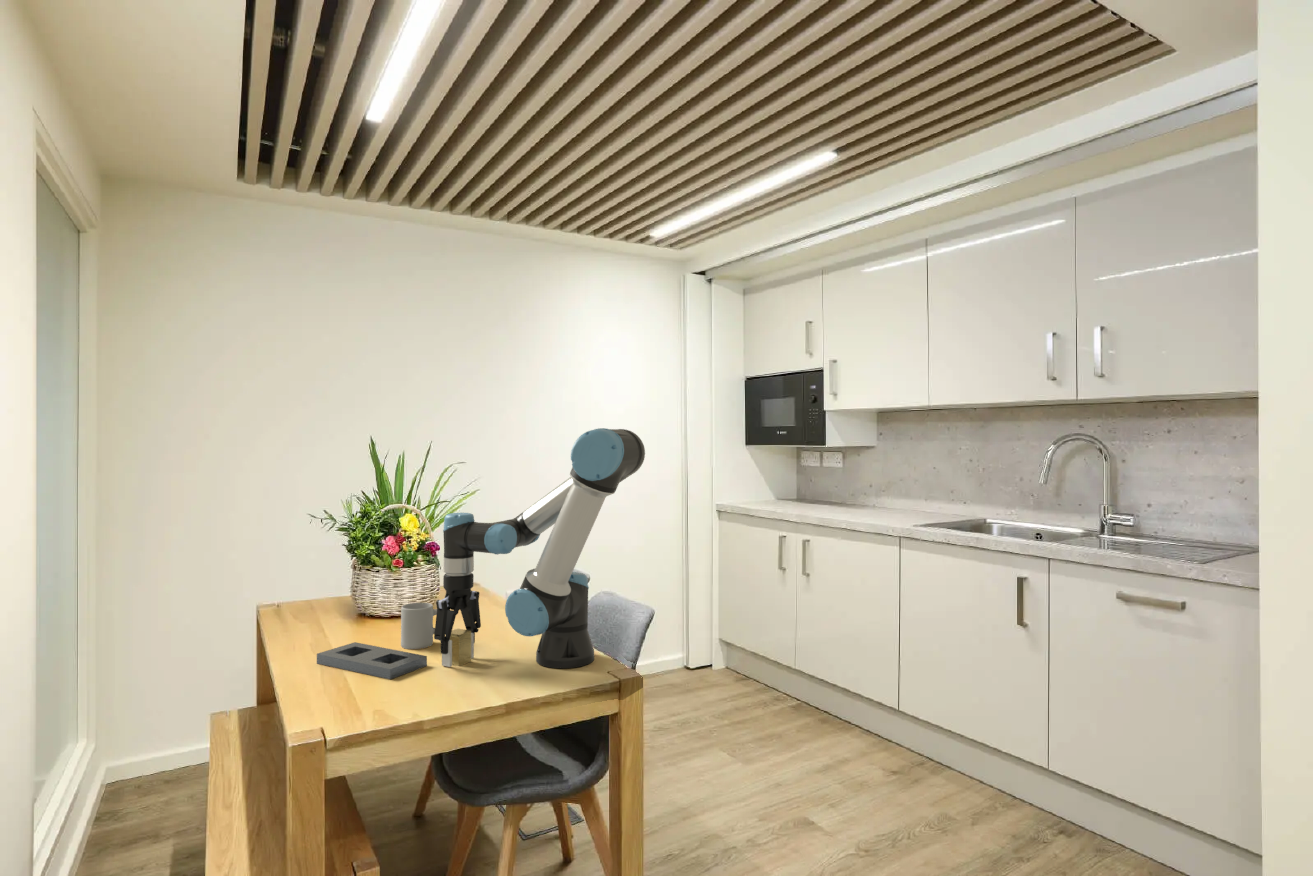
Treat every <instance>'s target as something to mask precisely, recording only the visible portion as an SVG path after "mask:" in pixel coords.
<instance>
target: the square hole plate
mask: <svg viewBox="0 0 1313 876" xmlns="http://www.w3.org/2000/svg"><path fill="white" fill-rule="evenodd" d="M316 664H317V665H322V666H327V667H331V668H335V669H340V670H344V671H349V672H353V673H354V672H355V673H359V674H364V675H368V676H372V677H377V678H381V679H387V680H392V679H393V680H394V679H395V678H398V677H400V676H403V675H406V674H408V673H409V674H410V673H412V672H414V671H418V670H419V668H420V669H422V668H425V667H427V666H428V656H427V655H425V654H424V655H423V654H418V653H412V652H407V651H403V650H397V649H392V648H388V647H387V648H386V647H383V646H381V647H380V646H376V645H371V644H366V643H360V642H351V643H348V644H345V645H341V646H338V647H334V648H332V649H331V648H330V649H328V650H324V651H321V652H319V653H316Z"/></svg>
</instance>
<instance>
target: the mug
mask: <svg viewBox="0 0 1313 876" xmlns="http://www.w3.org/2000/svg"><path fill="white" fill-rule="evenodd" d="M400 613H401V614H400V624H401V625H400V646H401V648H403V649H405V650H422V649H426V648H429V647H431V646H433V643H434V633H435V627H434V624H433V622H434V617H435V616H436V615H437V608H434V606H433V604H432V603H430V602H410V603H406V604H403V605H402V606H401V608H400ZM428 646H429V647H428ZM421 648H422V649H421Z"/></svg>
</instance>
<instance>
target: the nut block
mask: <svg viewBox="0 0 1313 876" xmlns="http://www.w3.org/2000/svg"><path fill="white" fill-rule="evenodd" d="M450 640H452V666H455V667H456V666H457V667H460V666H463V665H466V664H468V663H471V662H472V658H471V631H469V630H466V629H461V628H455V629H452V632H451V636H450Z"/></svg>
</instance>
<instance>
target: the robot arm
mask: <svg viewBox="0 0 1313 876" xmlns="http://www.w3.org/2000/svg"><path fill="white" fill-rule="evenodd" d="M645 455H646V449H645V445H644V443H643V440H642V439H641V438H640V437H639V435H637V434H636V433H635V432H634V431H631V430H629V429H624V428H617V429H616V428H615V429H614V428H613V429H612V428H599V427H598V428H594V429H591V430H590V429H589V430H588V431H585V432H584V433H582V434H580V436H578V437H577V439H576V440H575V441H574V443H573V445H572V447H571V451H570V460H571V465H572V467H571V470H570V472H569V475H570V477H569V478H567V479H566V480H564V481H563V482H562V483H561V484H559V485H557V486H556V487H554V489H552V490H551V491H550V492H548V493H547V494H545V495H544V496H543V497H541V498H540V499H539V500H537V501H536V502H534V503H533V504H532V505H530V506H529V507H528V508H526V509H524V511H522V512H521V513H520V514H518V515H517V516H516V517H513V518H512V519H506V520H501V521H496V522H477V521H475V515H474V514H473V513H472V512H471V513H469V512H452V513H451V512H450V513H447V514H446V515H445V516H444V518H443V519H444V521H443V529H442V533H443V573H445V574H444V575H443V576H442V577H443V579H442V580H443V586H442V587H443V589H444V590H445V595H444V598H442V599H437V600H436V601H435V604H436V609H437V615H435V616H436V617H435V624H434V625H435V626H434V628H435V633H434V634H433V640H435V641H436V640H437V641H440V654H441V666H443V667H448V668H451V667H453V665H452V640H450V636H451V632H452V630H454V624H455V622H456V621H455V620H456V617H457V615H458V614H459V611H460V614H461V617H462V619H463V624H464V627H465V630H469V631H471V659H474V658H475V657H474V656H475V654H474V651H475V648H474V647H475V642H476V640H475V639H476V638H475V637H476V634H477V633H479V629H480V628H481V627H482V624H481V623H482V622H481V612H480V601H479V599H480V592H479V591H477V590H472V588H473V587H474V573H473V572H474V570H475V569H474V565H475V564H474V563H475V561H474V560H475V559H474V553H475V552H476V553H484V554H485V553H486V554H493V555H507V554H510V553H512V551H513V550H514V549H515V548H518V547H526V546H528V545H531V544H533V543H535V542H537V540H539V539H540V536H541V534H542V533H544V532H545V531H547V530H548V529H549V528H551V527H552V526H553V527H552V529H551V531H550V534H549V537H548V539H547V541H546V544H545V546H544V548H543V550H542V553H541V555H540V557H539V559H538V562H537V563H536V566H535V568H533V569H530V570H527V572H526V574H525V576H524V578H523V581H522V582H521V586H520V587H519V588H518V589H515V590H513V592H511V593H510V594H509V596H508V597H507V599H506V601H505V606H504V611H505V617H506V618H507V621H508V623H509V626H510V627H511V628H512V629H513V631H515V632H516V633H518V634H519V635H520V636H524V637H534V636H540V635H541V636H540V639H539V643H538V645H537V649H536V651H535V655H536V656H535V661H536V663H537V664H538V665H540V666H542V667H547V668H552V669H553V668H554V669H572V668H573V669H574V668H580V667H583V666H587V665H590V664H591V663H593V662H594V660H595V649H594V647H593V646H594V645H593V643H592V639H591V637H590V636H591V635H590V633H589V629H588V625H589V624H588V623H589V588H590V587H589V582H588V581H589V579H588V575H586V574H585V573H582V572H578V571H577V572H575V571H574V569H575V568H576V565H577V563H578V561H579V558H580V557H581V556H580V555H581V553H582V552H583V549H584V547H585V545H586V543H587V540H588V538H589V536H590V534H591V531H592V529H593V527H594V524H595V522H596V519H597V518H598V516H599V513H600V511H601V509H602V507H603V504H604V502H605V499H606V498H607V497H609V496H612V495H614V494H615V492H616V491H617V490H618V487H619V485H620V483H621V482H623V481H624V480H626V479H627V478H628V477H631V476H632V475H634V474H635V473H637V472H638V471H639V470H640V468H641V467H642V465H643V463H644V461H645V457H646V456H645Z"/></svg>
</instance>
